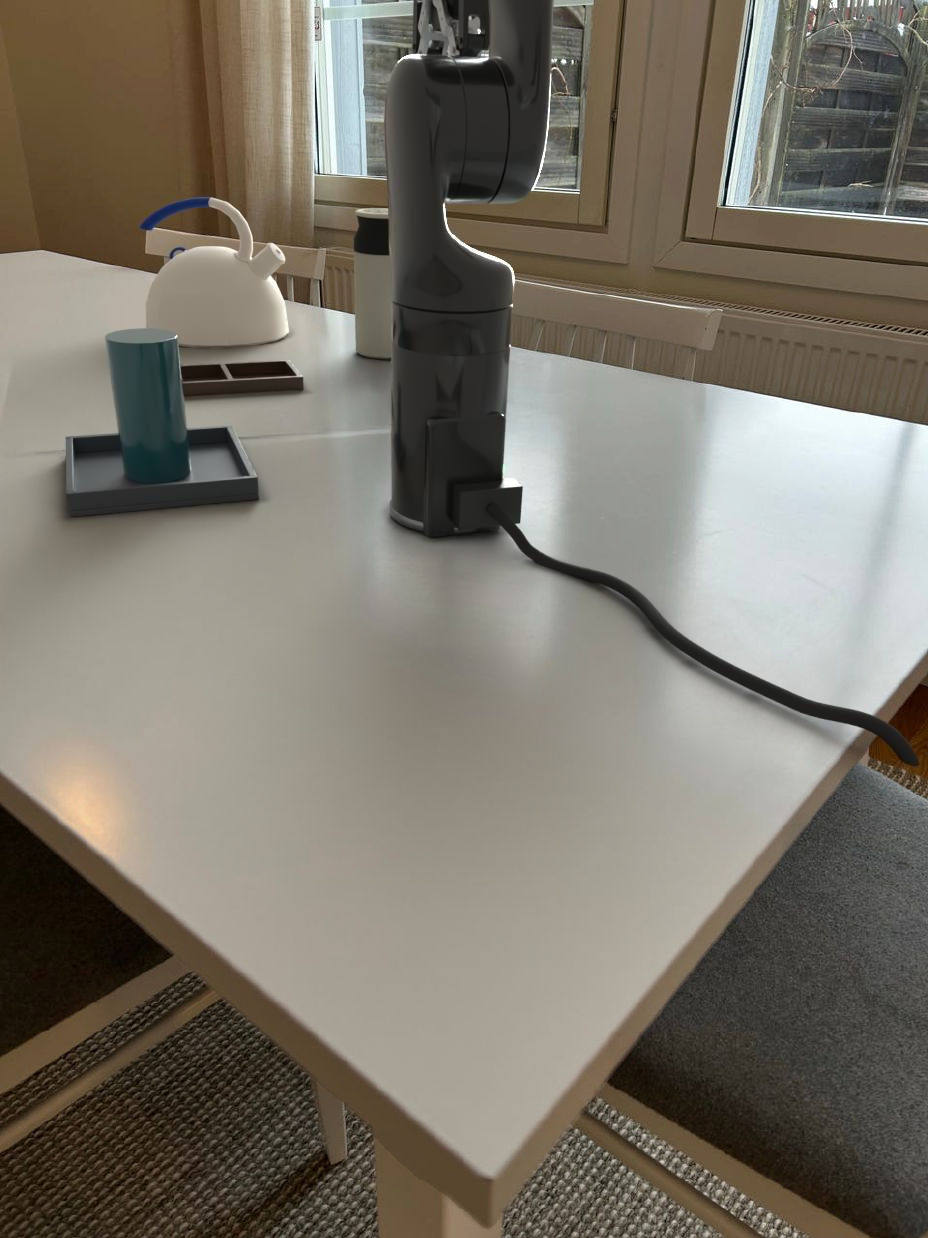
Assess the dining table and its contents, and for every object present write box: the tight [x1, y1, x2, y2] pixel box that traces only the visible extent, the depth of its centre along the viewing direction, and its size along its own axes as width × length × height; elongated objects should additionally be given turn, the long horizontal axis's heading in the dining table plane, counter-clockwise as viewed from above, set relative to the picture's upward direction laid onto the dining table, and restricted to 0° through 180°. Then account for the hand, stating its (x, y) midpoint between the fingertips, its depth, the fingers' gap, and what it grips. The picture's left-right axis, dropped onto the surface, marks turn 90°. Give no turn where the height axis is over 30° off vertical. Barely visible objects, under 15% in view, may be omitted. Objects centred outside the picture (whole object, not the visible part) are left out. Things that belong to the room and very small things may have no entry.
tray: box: [65, 424, 260, 518], centre depth 85 cm, size 15×15×2 cm
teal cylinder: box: [104, 327, 192, 483], centre depth 82 cm, size 6×6×12 cm
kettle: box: [139, 196, 290, 348], centre depth 133 cm, size 20×21×18 cm
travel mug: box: [353, 207, 392, 360], centre depth 126 cm, size 8×8×18 cm
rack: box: [180, 359, 305, 398], centre depth 112 cm, size 8×16×2 cm, turn 110°
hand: (447, 107), depth 89 cm, fingers open, 8 cm apart
